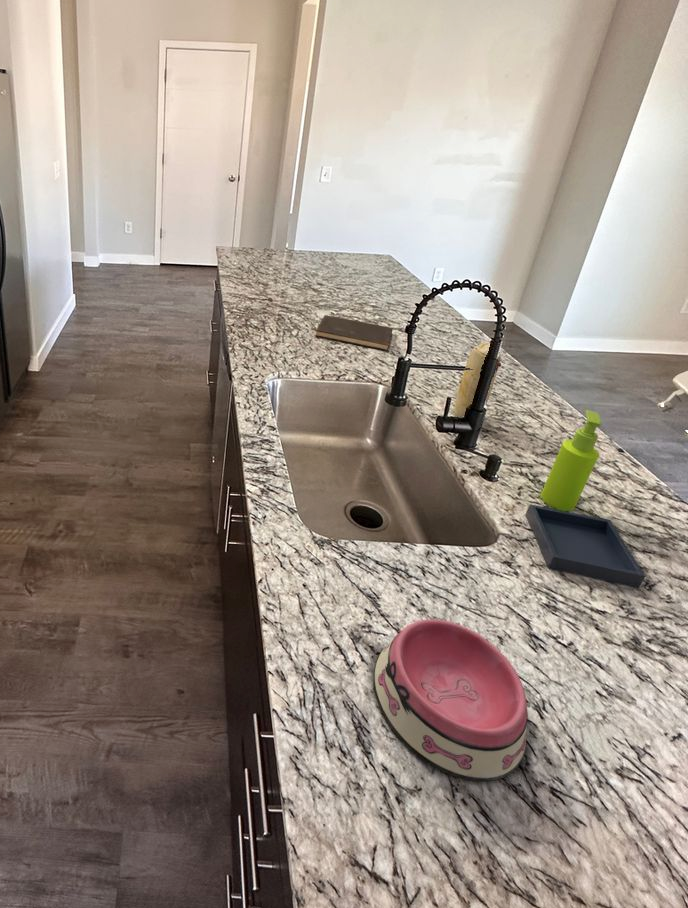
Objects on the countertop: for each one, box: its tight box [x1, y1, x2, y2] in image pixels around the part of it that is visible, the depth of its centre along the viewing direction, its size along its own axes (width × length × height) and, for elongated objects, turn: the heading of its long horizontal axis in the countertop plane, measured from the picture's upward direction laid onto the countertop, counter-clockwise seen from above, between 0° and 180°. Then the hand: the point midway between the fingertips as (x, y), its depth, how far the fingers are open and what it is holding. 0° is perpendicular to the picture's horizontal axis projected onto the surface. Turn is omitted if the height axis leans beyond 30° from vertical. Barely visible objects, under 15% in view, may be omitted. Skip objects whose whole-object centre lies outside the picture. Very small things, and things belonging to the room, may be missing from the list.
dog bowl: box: [372, 618, 529, 782], centre depth 70 cm, size 18×19×7 cm
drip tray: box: [525, 503, 646, 589], centre depth 97 cm, size 14×14×3 cm
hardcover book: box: [314, 314, 394, 352], centre depth 181 cm, size 16×23×2 cm
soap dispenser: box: [540, 409, 602, 512], centre depth 105 cm, size 6×7×20 cm
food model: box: [453, 342, 502, 418], centre depth 132 cm, size 10×7×20 cm
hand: (673, 422), depth 97 cm, fingers open, 8 cm apart
